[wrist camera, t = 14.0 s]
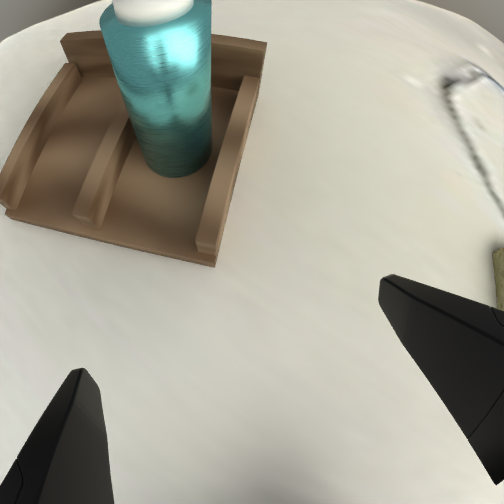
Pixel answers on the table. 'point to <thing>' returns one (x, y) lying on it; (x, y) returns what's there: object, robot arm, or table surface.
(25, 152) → the rack
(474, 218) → the table surface
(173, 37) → the spray can
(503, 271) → the decorative tile
